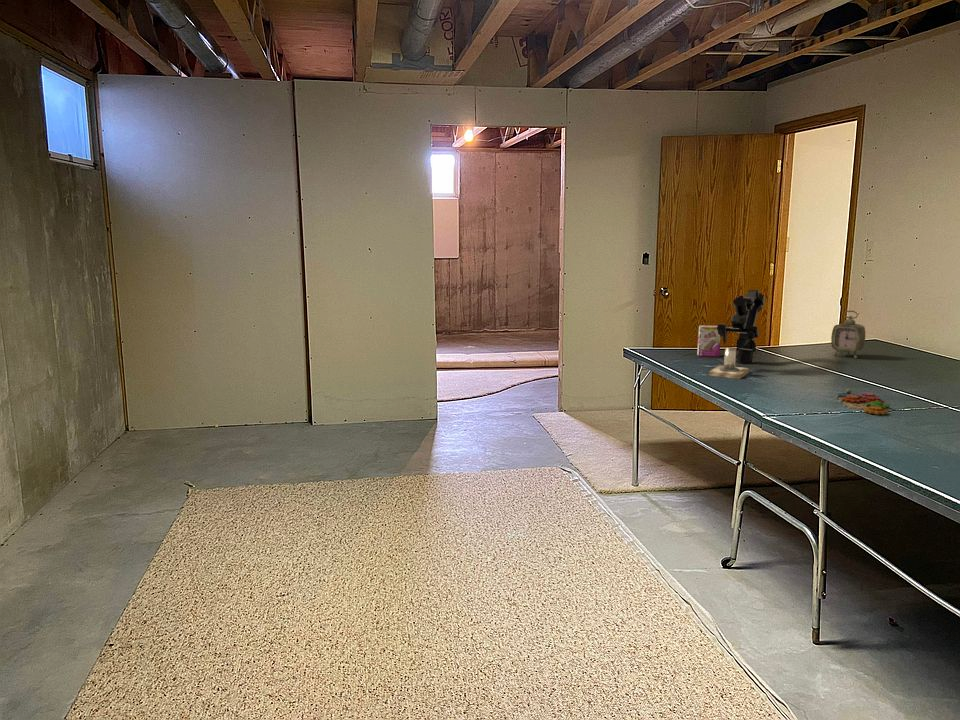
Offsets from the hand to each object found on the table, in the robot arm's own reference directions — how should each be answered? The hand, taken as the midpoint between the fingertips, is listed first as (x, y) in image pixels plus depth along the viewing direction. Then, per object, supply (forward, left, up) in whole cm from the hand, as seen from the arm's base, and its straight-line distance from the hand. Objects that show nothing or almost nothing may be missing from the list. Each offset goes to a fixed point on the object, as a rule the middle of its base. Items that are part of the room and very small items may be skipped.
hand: (733, 344), depth 334 cm
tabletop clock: (-83, -21, -14) cm, 86 cm away
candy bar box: (-12, -41, -14) cm, 45 cm away
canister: (+4, +4, -11) cm, 12 cm away
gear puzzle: (-13, +70, -14) cm, 73 cm away
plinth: (+4, +4, -13) cm, 15 cm away
